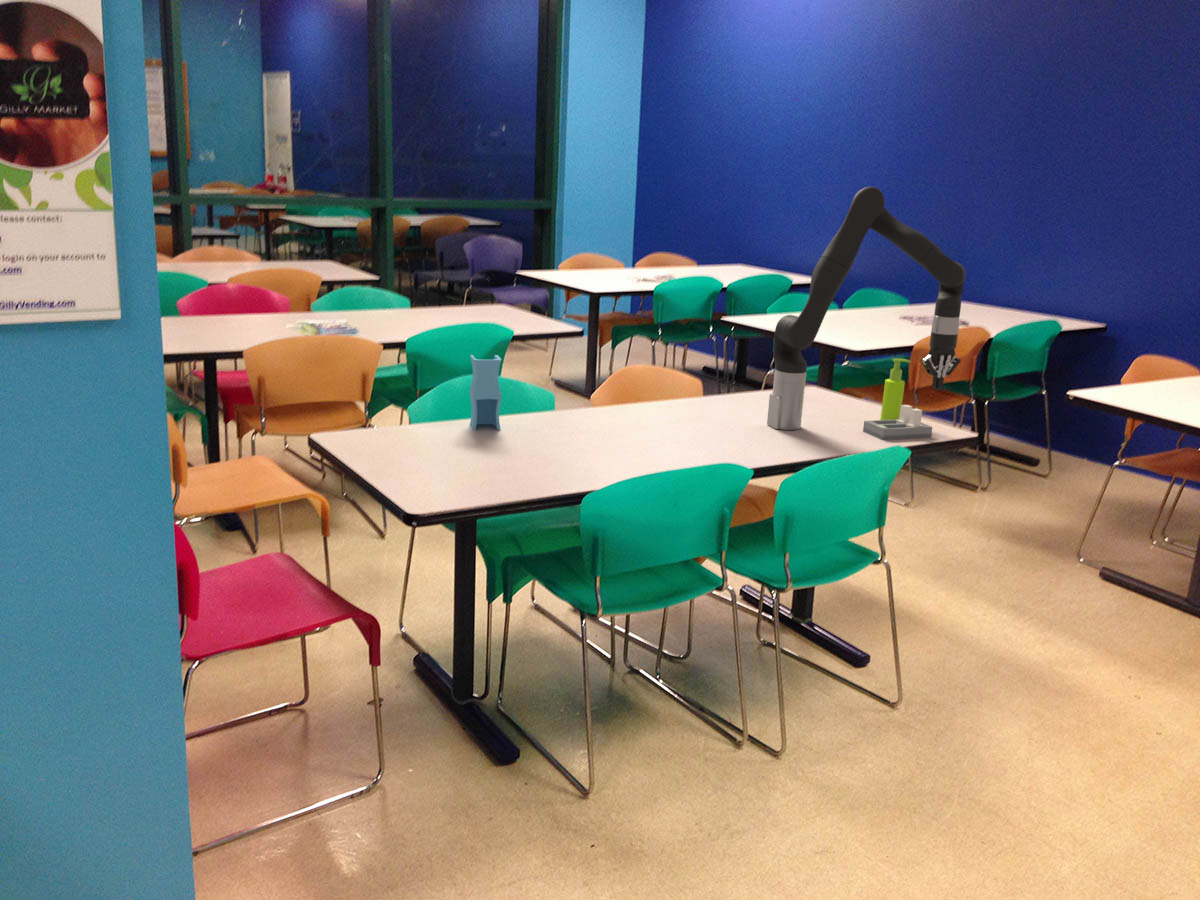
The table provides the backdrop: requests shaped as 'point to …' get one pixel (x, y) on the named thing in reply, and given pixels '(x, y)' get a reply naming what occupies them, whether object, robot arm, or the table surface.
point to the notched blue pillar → (485, 392)
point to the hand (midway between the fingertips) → (937, 389)
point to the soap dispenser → (893, 392)
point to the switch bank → (895, 430)
